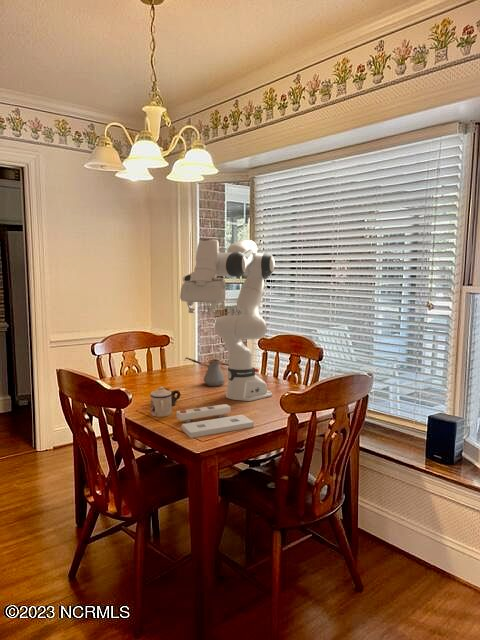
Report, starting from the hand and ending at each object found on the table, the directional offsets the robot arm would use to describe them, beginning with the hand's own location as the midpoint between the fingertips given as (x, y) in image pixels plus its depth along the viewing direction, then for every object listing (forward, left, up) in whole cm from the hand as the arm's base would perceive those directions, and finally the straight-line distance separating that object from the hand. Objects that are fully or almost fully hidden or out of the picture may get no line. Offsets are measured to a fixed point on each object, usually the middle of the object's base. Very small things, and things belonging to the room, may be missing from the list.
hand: (200, 313), depth 177 cm
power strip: (-2, -3, -44) cm, 44 cm away
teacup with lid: (+12, -16, -44) cm, 48 cm away
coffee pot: (-23, -54, -44) cm, 73 cm away
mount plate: (-3, +9, -44) cm, 45 cm away
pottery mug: (+5, -30, -44) cm, 53 cm away
